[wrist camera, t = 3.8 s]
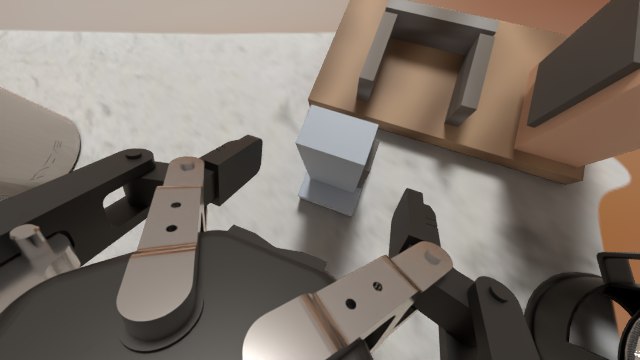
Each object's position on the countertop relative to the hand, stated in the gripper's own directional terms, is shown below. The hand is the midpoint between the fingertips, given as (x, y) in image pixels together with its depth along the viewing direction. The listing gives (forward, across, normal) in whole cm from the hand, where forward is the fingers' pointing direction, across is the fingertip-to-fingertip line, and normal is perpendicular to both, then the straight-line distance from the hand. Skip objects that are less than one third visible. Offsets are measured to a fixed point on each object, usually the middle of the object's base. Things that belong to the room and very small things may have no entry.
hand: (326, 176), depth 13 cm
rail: (+18, -7, -4) cm, 19 cm away
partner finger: (+15, -16, -4) cm, 22 cm away
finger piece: (+8, 0, +5) cm, 10 cm away
